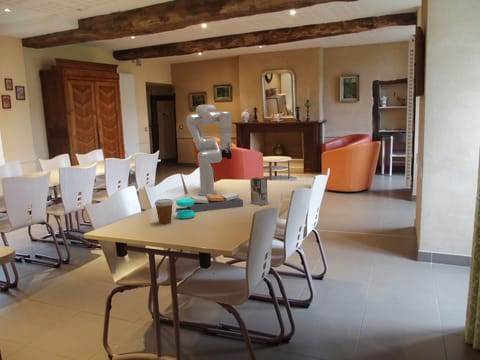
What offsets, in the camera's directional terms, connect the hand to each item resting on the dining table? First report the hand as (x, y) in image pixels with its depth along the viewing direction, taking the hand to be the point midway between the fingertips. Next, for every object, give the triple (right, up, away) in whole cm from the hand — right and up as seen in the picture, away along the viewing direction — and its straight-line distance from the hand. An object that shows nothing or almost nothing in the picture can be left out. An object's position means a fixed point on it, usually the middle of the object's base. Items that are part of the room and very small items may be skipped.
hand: (226, 158), depth 256 cm
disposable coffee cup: (-31, -37, -44) cm, 65 cm away
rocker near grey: (-16, -27, -16) cm, 35 cm away
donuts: (-22, -35, -33) cm, 53 cm away
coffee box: (+21, -29, -5) cm, 36 cm away
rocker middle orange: (-7, -26, -12) cm, 29 cm away
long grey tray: (-10, -31, -13) cm, 35 cm away
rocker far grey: (+2, -25, -8) cm, 26 cm away
